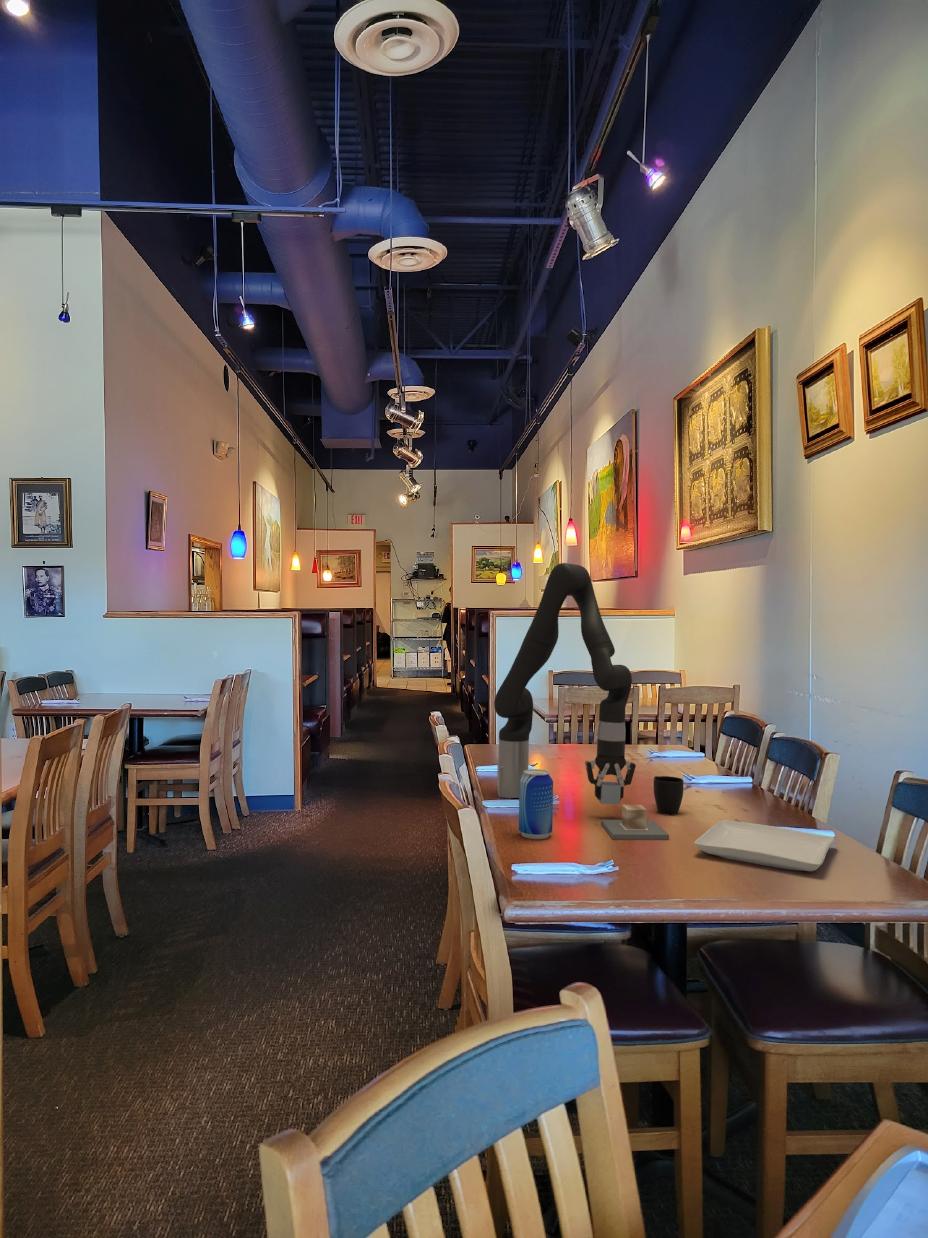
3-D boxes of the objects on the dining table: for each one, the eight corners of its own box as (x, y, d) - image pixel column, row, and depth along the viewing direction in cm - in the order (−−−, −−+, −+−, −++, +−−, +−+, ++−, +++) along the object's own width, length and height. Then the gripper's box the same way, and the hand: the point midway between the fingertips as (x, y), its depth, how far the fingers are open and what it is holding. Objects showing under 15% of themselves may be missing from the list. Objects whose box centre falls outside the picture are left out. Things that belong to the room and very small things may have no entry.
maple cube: (626, 829, 195) (627, 809, 195) (621, 824, 200) (622, 804, 200) (646, 829, 195) (646, 809, 195) (640, 824, 200) (641, 805, 200)
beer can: (530, 842, 187) (531, 776, 187) (512, 833, 194) (513, 769, 194) (558, 838, 191) (560, 773, 191) (540, 829, 198) (541, 767, 198)
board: (613, 839, 190) (613, 834, 190) (600, 824, 204) (600, 819, 204) (669, 839, 191) (669, 834, 191) (652, 824, 205) (652, 819, 205)
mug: (669, 805, 227) (669, 773, 227) (688, 815, 215) (688, 781, 215) (643, 806, 225) (643, 773, 225) (660, 816, 214) (661, 782, 214)
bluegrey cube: (601, 804, 208) (602, 785, 208) (597, 799, 213) (598, 781, 213) (619, 804, 208) (620, 786, 208) (615, 799, 213) (616, 781, 213)
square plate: (821, 881, 163) (821, 863, 163) (691, 858, 178) (691, 841, 178) (836, 850, 186) (836, 834, 186) (720, 832, 201) (720, 817, 201)
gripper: (588, 739, 206) (585, 802, 207) (640, 740, 207) (638, 803, 207) (582, 734, 214) (580, 795, 214) (633, 736, 215) (631, 796, 215)
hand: (608, 799), depth 211 cm, fingers closed on bluegrey cube, 5 cm apart
